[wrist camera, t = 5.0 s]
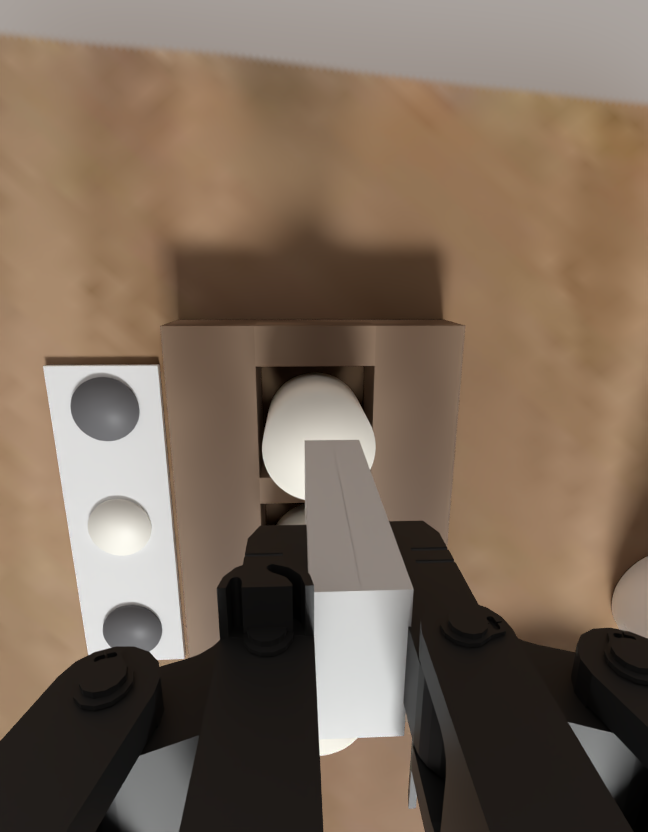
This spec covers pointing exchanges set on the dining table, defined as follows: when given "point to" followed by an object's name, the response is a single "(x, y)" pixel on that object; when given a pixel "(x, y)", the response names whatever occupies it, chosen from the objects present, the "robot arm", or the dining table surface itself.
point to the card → (118, 504)
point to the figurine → (632, 600)
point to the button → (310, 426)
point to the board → (243, 430)
